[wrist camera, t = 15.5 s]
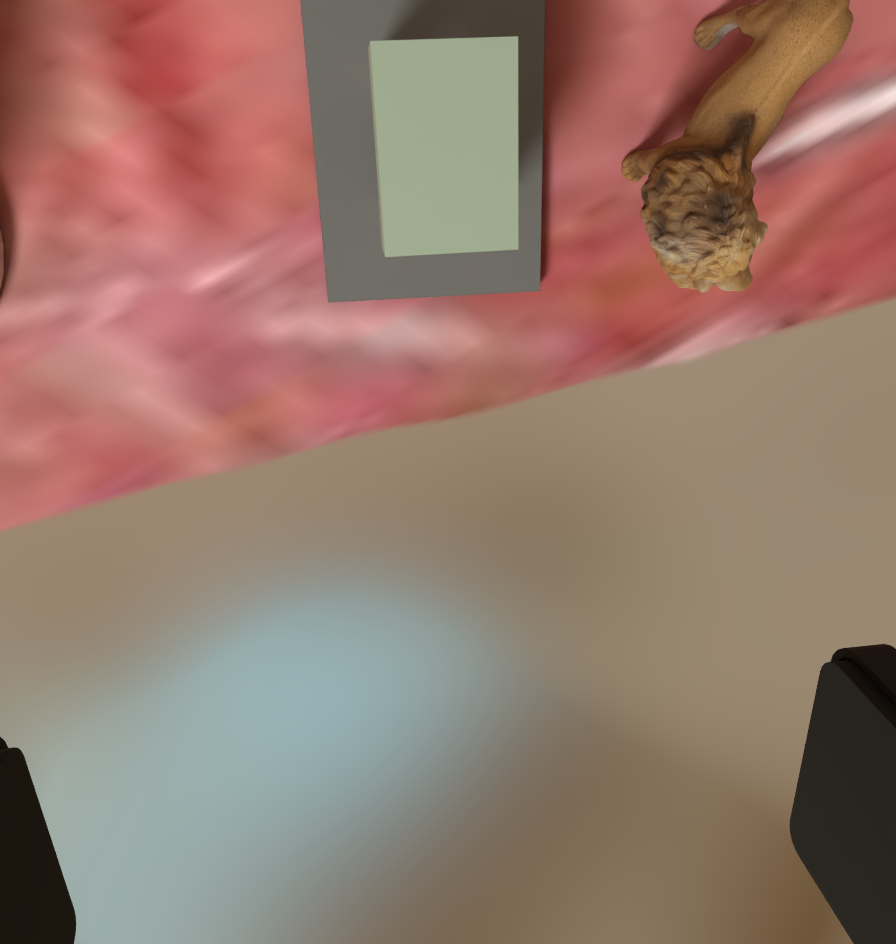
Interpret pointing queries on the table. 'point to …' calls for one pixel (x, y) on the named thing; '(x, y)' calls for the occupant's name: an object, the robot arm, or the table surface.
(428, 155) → the sage stool
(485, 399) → the table surface
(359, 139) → the charcoal mat
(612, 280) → the table surface
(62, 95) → the table surface
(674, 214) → the lion figurine
